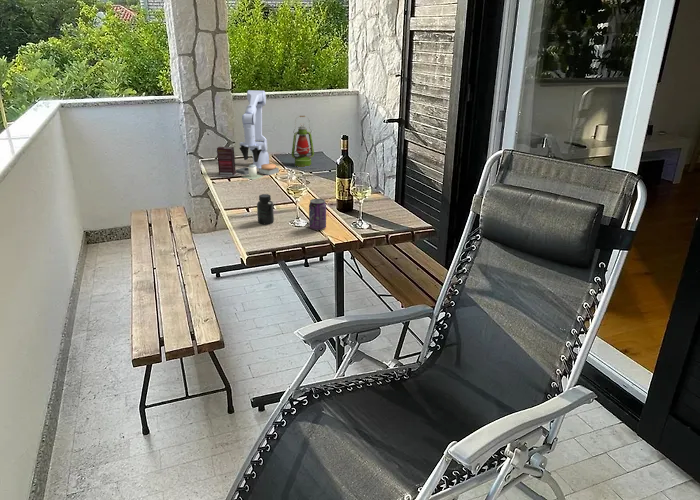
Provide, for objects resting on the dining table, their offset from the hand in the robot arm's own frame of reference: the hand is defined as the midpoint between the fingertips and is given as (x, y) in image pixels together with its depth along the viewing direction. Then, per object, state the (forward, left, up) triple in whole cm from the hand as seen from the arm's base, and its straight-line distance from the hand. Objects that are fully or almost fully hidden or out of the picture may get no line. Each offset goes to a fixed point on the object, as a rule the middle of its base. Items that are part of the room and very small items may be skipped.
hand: (251, 160), depth 294 cm
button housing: (-11, +3, -9) cm, 14 cm away
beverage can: (+43, +80, -9) cm, 91 cm away
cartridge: (+1, +2, -8) cm, 9 cm away
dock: (-4, -9, -9) cm, 13 cm away
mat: (+1, +2, -9) cm, 9 cm away
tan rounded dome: (-11, +3, -9) cm, 14 cm away
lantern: (-37, +7, -9) cm, 38 cm away
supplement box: (+7, -12, -9) cm, 17 cm away
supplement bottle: (+51, +58, -9) cm, 78 cm away
